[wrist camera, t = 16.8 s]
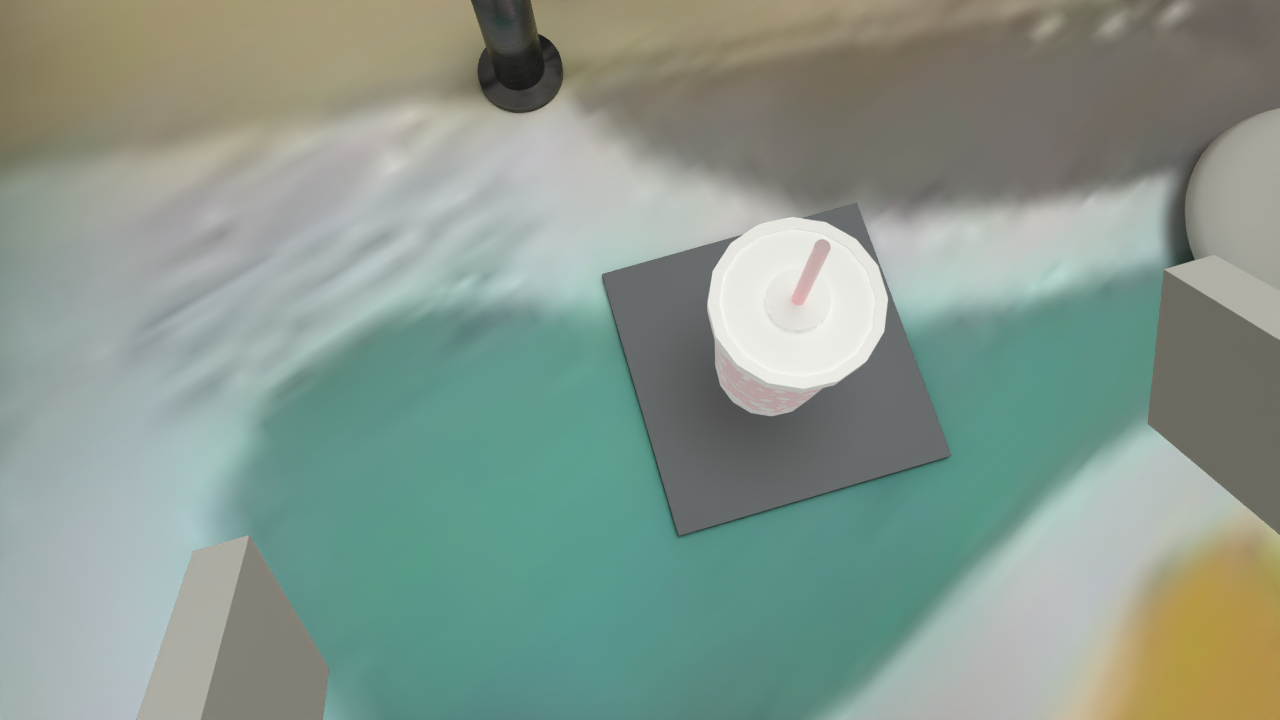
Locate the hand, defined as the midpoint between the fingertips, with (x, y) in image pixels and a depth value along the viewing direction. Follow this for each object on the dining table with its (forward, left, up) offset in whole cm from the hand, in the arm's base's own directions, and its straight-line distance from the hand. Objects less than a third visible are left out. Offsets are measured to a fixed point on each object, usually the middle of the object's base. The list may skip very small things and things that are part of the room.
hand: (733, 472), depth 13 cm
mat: (+6, +7, -26) cm, 28 cm away
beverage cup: (+6, +7, -26) cm, 27 cm away
